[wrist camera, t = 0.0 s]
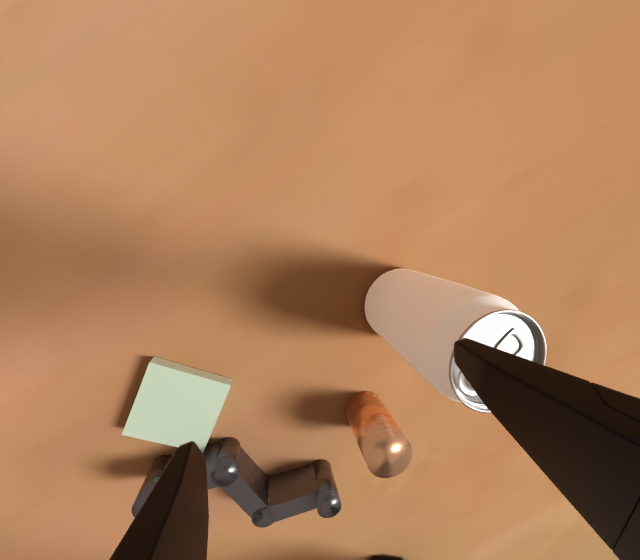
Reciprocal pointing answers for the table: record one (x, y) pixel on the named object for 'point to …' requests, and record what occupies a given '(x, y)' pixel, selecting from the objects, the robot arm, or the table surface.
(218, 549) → the table surface
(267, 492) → the dark grey zigzag bar
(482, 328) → the can
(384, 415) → the cylinder
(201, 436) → the pad
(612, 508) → the robot arm
